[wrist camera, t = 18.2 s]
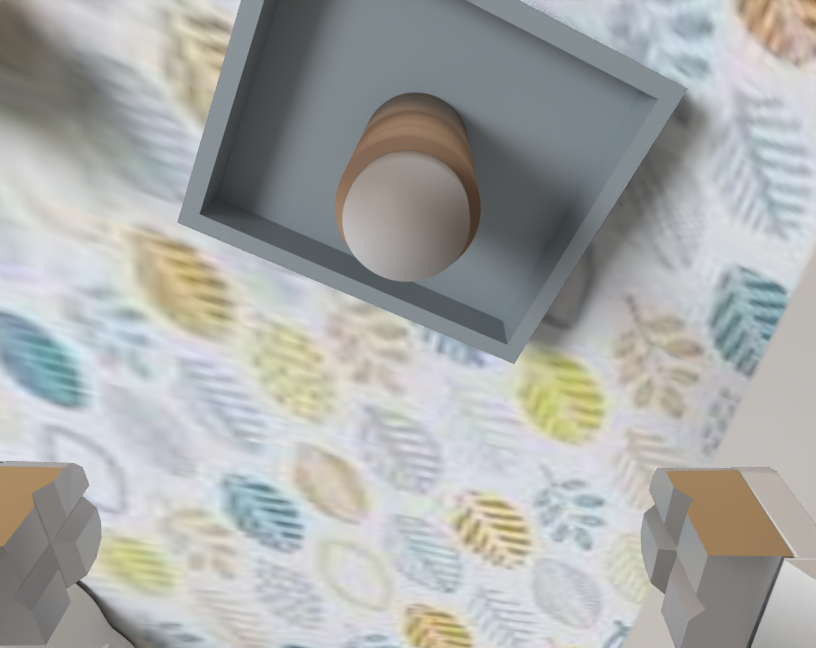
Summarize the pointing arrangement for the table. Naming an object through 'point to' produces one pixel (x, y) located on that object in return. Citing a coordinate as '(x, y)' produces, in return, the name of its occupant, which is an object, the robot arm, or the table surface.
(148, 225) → the table surface
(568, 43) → the tray
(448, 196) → the shaker
